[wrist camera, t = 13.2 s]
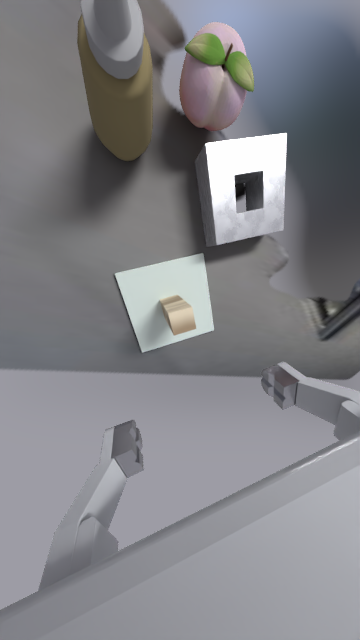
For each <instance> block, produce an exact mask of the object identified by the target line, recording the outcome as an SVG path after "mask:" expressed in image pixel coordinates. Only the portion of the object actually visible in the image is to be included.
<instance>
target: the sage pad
mask: <svg viewBox="0 0 360 640" xmlns="http://www.w3.org/2000/svg"><path fill="white" fill-rule="evenodd" d="M115 276H116V279H117V282H118V285H119V288H120V290H121V293H122V296H123V299H124V302H125V305H126V308H127V311H128V313H129V316H130V319H131V322H132V325H133V328H134V331H135V334H136V336H137V339H138V342H139V345H140V348H141V351H142V353H143V352H146V351H149V350H152V349H156V348H159V347H162V346H165V345H168V344H172V343H175V342H178V341H181V340H184V339H188V338H191V337H194V336H197V335H200V334H204V333H207V332H210V331H213V330H214V326H213V318H212V311H211V304H210V297H209V290H208V283H207V276H206V268H205V261H204V254H203V253H200V254H196V255H192V256H187V257H183V258H179V259H175V260H170V261H166V262H162V263H157V264H153V265H149V266H145V267H140V268H136V269H132V270H127V271H123V272H119V273H115ZM174 295H179V296H180V297H181V298H182V299H184V300H185V301H186V302H187V303H188V304H190V305H191V306H192V308H193V314H194V319H195V324H196V329H194V330H191V331H188V332H184V333H181V334H178V335H175V336H174V335H173V333H172V331H171V329H170V327H169V325H168V323H167V321H166V319H165V317H164V314H163V310H162V306H161V303H160V299H163V298H167V297H170V296H174Z"/></svg>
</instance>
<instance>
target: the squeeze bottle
mask: <svg viewBox="0 0 360 640" xmlns="http://www.w3.org/2000/svg"><path fill="white" fill-rule="evenodd" d="M81 12H82V14H81V17H80V19H79V21H78V40H77V43H78V49H79V55H80V60H81V66H82V72H83V77H84V83H85V89H86V94H87V100H88V106H89V111H90V116H91V120H92V123H93V127H94V130H95V132H96V134H97V135H98V137H99V139H100V140H101V142H102V144H103V145H104V146H105V147H107V148H108V149H109V150H110V151H111V152H112V153H113V154H114V155H115V156H116V157H117V158H119V159H121V160H124V161H133V160H134V159H136V158H137V157H139V156H140V155H141V154H142V153H144V152H145V150H146V148H147V147H148V145H149V143H150V141H151V135H152V128H153V97H152V60H151V53H150V47H149V44H148V41H147V39H146V36H145V34H144V27H143V20H142V14H141V10H140V7H139V5H138V3H137V0H81Z"/></svg>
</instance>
